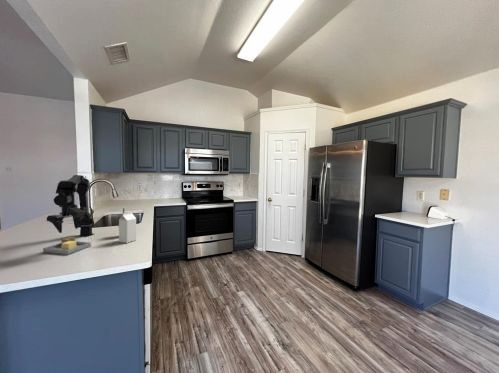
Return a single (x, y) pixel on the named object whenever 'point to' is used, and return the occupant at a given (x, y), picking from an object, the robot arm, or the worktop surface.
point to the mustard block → (68, 245)
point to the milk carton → (127, 228)
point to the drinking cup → (120, 216)
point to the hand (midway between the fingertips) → (68, 230)
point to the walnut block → (67, 239)
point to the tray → (58, 250)
